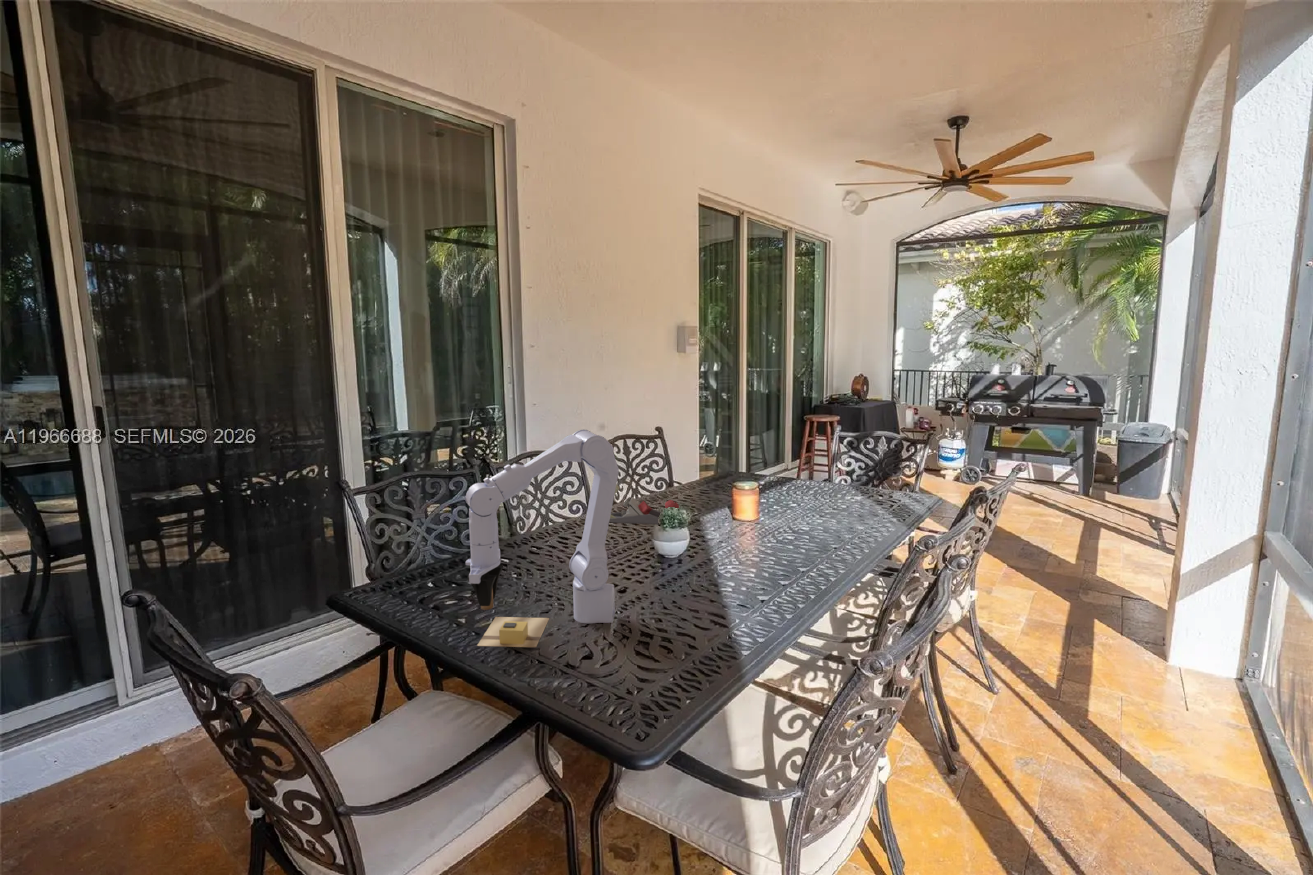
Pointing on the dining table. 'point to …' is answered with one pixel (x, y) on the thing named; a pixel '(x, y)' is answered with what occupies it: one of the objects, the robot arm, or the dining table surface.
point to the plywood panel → (534, 624)
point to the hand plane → (638, 512)
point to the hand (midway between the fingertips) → (487, 602)
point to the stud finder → (513, 632)
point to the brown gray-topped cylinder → (490, 604)
